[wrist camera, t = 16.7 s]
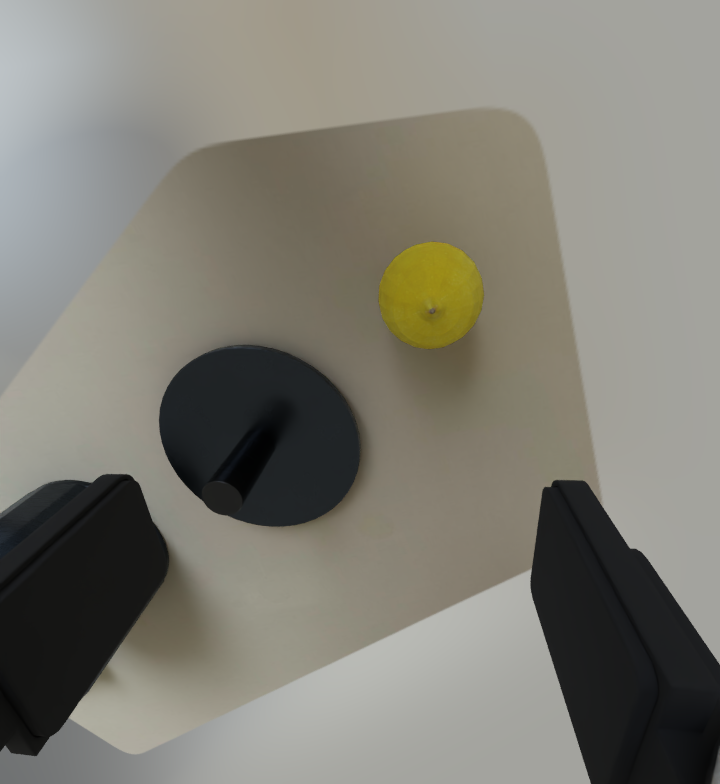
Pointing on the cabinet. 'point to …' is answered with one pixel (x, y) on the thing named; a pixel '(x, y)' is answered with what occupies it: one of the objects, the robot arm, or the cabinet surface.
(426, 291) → the fruit
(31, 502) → the bin
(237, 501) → the bin lid
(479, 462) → the cabinet surface
